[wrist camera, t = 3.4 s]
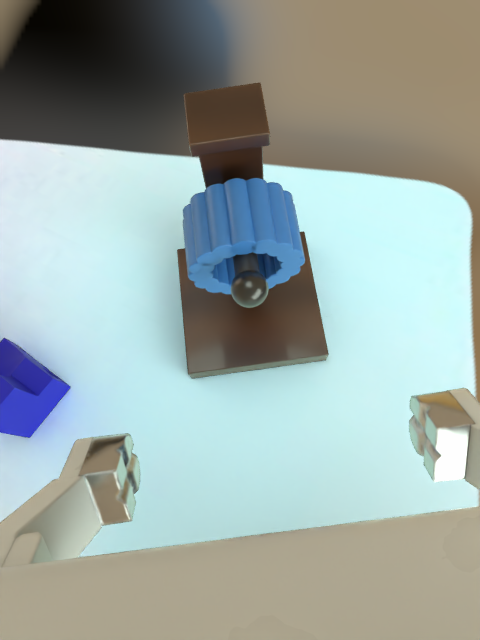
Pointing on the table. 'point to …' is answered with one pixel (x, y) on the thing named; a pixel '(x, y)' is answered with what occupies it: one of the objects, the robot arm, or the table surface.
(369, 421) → the table surface
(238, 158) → the hook stand
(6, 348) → the cable clip
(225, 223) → the fluted cylinder
